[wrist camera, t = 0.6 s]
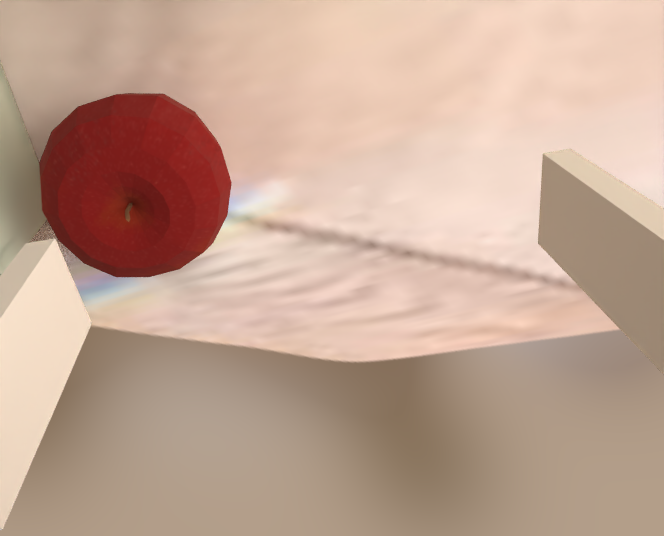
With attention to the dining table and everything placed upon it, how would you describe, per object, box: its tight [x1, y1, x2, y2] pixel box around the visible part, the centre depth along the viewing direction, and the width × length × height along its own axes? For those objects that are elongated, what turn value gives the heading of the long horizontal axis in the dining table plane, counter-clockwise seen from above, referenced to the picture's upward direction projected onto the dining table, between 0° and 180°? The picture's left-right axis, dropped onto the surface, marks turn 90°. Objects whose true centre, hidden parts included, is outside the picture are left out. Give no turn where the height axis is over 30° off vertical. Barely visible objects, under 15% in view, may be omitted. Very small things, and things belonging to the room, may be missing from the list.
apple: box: [39, 93, 231, 277], centre depth 35 cm, size 11×11×12 cm
